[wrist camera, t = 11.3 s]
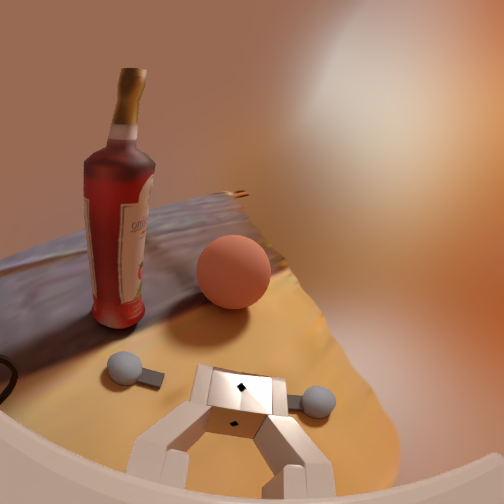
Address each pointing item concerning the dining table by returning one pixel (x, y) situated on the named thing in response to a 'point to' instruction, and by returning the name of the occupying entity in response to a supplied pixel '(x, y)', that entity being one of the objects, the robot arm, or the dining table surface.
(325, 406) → the grey knobs
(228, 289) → the ball
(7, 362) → the coffee mug
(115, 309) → the liquor
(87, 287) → the dining table surface
